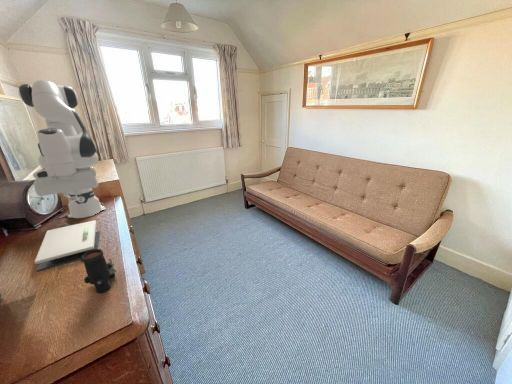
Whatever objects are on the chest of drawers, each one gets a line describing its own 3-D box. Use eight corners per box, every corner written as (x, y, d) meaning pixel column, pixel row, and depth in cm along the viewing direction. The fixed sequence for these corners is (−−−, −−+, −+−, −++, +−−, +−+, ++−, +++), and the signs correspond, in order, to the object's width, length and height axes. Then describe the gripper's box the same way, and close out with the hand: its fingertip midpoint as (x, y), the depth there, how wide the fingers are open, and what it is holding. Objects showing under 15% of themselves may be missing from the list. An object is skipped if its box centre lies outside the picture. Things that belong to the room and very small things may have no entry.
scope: (107, 241, 74) (108, 255, 66) (117, 273, 79) (118, 290, 71) (78, 249, 70) (74, 265, 62) (90, 282, 75) (88, 302, 67)
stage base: (51, 244, 99) (48, 236, 98) (100, 232, 109) (98, 224, 107) (36, 272, 81) (32, 263, 79) (97, 255, 90) (94, 246, 89)
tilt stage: (48, 232, 97) (45, 227, 96) (96, 222, 106) (94, 217, 105) (35, 264, 80) (32, 258, 79) (93, 248, 89) (92, 243, 88)
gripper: (94, 164, 96) (102, 193, 100) (32, 171, 86) (44, 203, 90) (93, 167, 90) (102, 197, 95) (27, 175, 80) (40, 208, 85)
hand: (73, 200), depth 92 cm, fingers closed
